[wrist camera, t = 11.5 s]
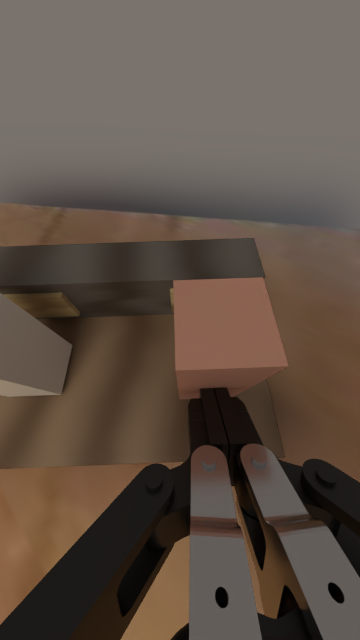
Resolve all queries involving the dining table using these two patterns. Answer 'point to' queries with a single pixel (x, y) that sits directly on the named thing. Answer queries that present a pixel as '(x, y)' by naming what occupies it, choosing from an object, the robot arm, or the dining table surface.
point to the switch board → (115, 350)
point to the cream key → (29, 354)
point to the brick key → (224, 335)
